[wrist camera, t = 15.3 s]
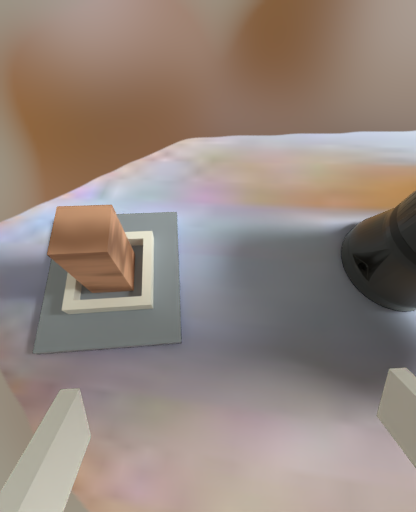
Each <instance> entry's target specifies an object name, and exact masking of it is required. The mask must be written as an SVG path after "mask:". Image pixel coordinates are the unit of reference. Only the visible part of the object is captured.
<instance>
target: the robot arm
mask: <svg viewBox="0 0 416 512" xmlns="http://www.w3.org/2000/svg"><path fill="white" fill-rule="evenodd" d="M341 255H342V262H343V265H344V268H345V271H346V273H347V275H348V276H349V278H350V280H351V281H352V282H353V284H354V285H355V286H356V287H357V288H358V289H359V290H360V291H361V292H362V293H363V294H364V295H365V296H366V297H368V298H369V299H371V300H372V301H374V302H375V303H377V304H379V305H381V306H384V307H386V308H389V309H393V310H397V311H414V310H416V190H415V191H414V192H413V193H412V194H411V195H409V196H408V197H407V198H406V199H405V200H404V201H402V202H401V203H400V204H399V205H398V206H396V207H395V208H393V209H390V210H388V211H385V212H383V213H380V214H378V215H375V216H373V217H370V218H367V219H365V220H363V221H362V222H360V223H359V224H357V225H356V226H355V227H354V228H353V229H352V230H351V231H350V232H349V233H348V234H347V236H346V237H345V239H344V241H343V244H342V251H341ZM377 417H378V418H379V420H380V421H381V422H382V424H383V425H384V426H385V428H386V429H387V430H388V432H389V433H390V434H391V436H392V437H393V438H394V440H395V441H396V442H397V444H398V445H399V446H400V448H401V449H402V450H403V452H404V453H405V454H406V456H407V457H408V458H409V460H410V461H411V463H412V464H413V465H414V467H415V468H416V376H414V375H413V374H412V373H411V372H410V371H409V370H408V369H407V368H391V369H389V371H388V375H387V378H386V382H385V386H384V390H383V393H382V397H381V401H380V405H379V408H378V412H377ZM90 438H91V434H90V430H89V425H88V421H87V417H86V413H85V409H84V404H83V400H82V396H81V392H80V388H77V389H61V390H60V391H59V393H58V394H57V396H56V398H55V400H54V401H53V403H52V405H51V406H50V408H49V410H48V412H47V413H46V415H45V417H44V418H43V420H42V422H41V423H40V425H39V427H38V429H37V430H36V432H35V434H34V435H33V437H32V439H31V441H30V443H29V444H28V446H27V447H26V449H25V451H24V452H23V454H22V456H21V458H20V459H19V461H18V463H17V465H16V466H15V468H14V470H13V471H12V473H11V475H10V476H9V478H8V480H7V481H6V483H5V485H4V487H3V488H2V490H1V492H0V512H63V511H64V508H65V505H66V503H67V500H68V497H69V495H70V492H71V489H72V487H73V484H74V481H75V479H76V476H77V473H78V470H79V468H80V465H81V462H82V460H83V457H84V454H85V452H86V449H87V446H88V444H89V441H90Z"/></svg>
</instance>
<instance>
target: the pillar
mask: <svg viewBox="0 0 416 512" xmlns="http://www.w3.org/2000/svg"><path fill="white" fill-rule="evenodd" d="M47 255H48V256H49V257H50V258H51V259H53V260H54V261H55V262H56V263H57V264H58V265H60V266H61V267H62V268H63V269H64V270H66V271H67V272H68V273H69V274H70V275H71V276H73V277H74V278H75V279H76V280H77V281H79V282H80V283H81V284H82V285H83V286H84V287H86V288H87V289H88V290H89V291H90V292H92V293H104V292H121V291H134V272H135V253H134V251H133V249H132V247H131V245H130V242H129V240H128V238H127V236H126V234H125V232H124V230H123V228H122V225H121V223H120V221H119V219H118V217H117V215H116V213H115V210H114V208H113V206H112V205H90V206H59V207H57V209H56V214H55V218H54V223H53V228H52V233H51V237H50V242H49V247H48V252H47Z"/></svg>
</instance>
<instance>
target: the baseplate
mask: <svg viewBox="0 0 416 512" xmlns="http://www.w3.org/2000/svg"><path fill="white" fill-rule="evenodd" d="M116 215H117V217H118V219H119V221H120V223H121V225H122V228H123V230H124V232H125V234H126V236H127V238H128V240H129V242H130V245H131V247H132V249H133V251H134V253H135V272H134V291H121V292H104V293H92V292H90V291H89V290H88V289H87V288H86V287H84V286H83V285H82V284H81V283H80V282H79V281H77V280H76V279H75V278H74V277H73V276H71V275H70V274H69V273H68V272H67V271H66V270H64V269H63V268H62V267H61V266H60V265H58V264H57V263H56V262H55V261H54V260H53V259H51V263H50V268H49V273H48V278H47V283H46V289H45V294H44V299H43V304H42V309H41V314H40V319H39V324H38V329H37V334H36V339H35V344H34V349H33V354H48V353H61V352H74V351H87V350H100V349H113V348H126V347H138V346H151V345H164V344H177V343H181V316H180V288H179V259H178V230H177V212H162V213H135V214H116Z"/></svg>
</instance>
